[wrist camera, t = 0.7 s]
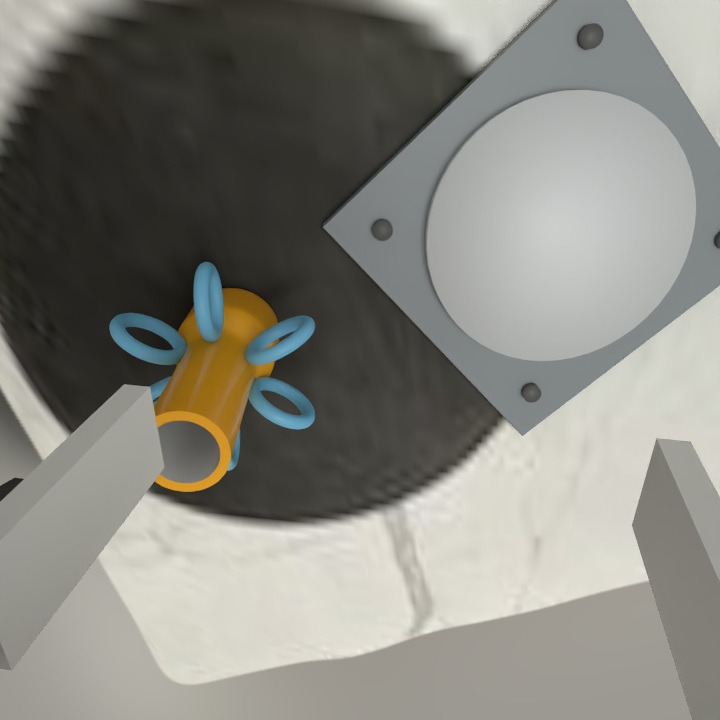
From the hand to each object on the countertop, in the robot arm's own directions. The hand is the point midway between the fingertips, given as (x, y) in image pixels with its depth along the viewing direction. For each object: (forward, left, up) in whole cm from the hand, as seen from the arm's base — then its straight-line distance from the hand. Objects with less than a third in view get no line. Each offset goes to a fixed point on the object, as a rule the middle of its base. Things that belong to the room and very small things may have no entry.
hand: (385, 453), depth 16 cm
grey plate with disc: (+7, +10, -24) cm, 27 cm away
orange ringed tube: (-2, -9, -24) cm, 26 cm away
